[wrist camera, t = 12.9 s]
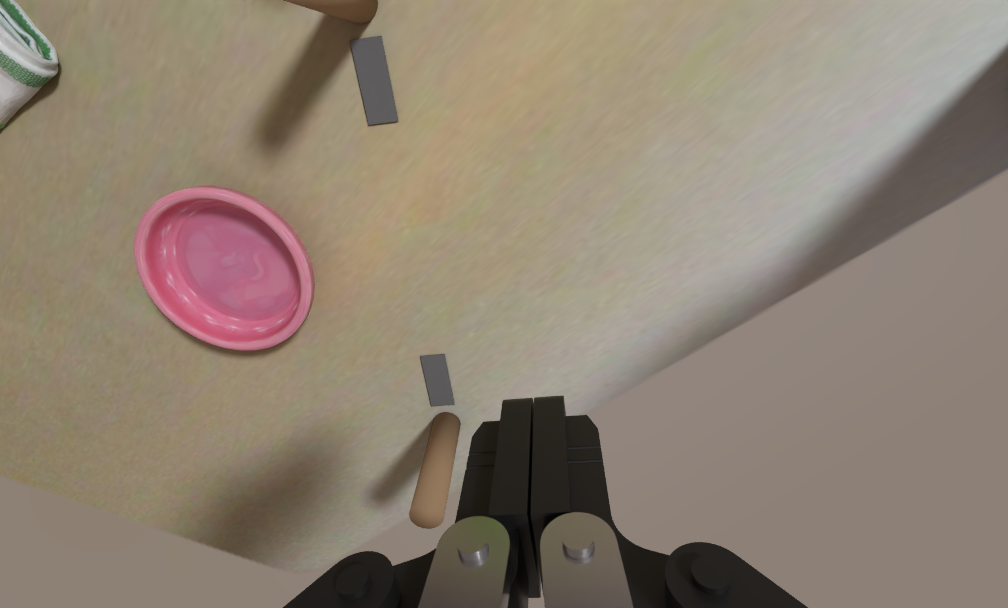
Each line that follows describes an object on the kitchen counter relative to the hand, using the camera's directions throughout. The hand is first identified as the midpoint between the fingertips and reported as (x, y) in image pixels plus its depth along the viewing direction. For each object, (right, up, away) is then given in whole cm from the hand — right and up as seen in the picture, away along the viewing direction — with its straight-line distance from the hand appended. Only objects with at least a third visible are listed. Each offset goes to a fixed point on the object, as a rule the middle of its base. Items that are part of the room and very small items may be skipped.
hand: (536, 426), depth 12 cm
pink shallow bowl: (-21, +6, +25) cm, 33 cm away
